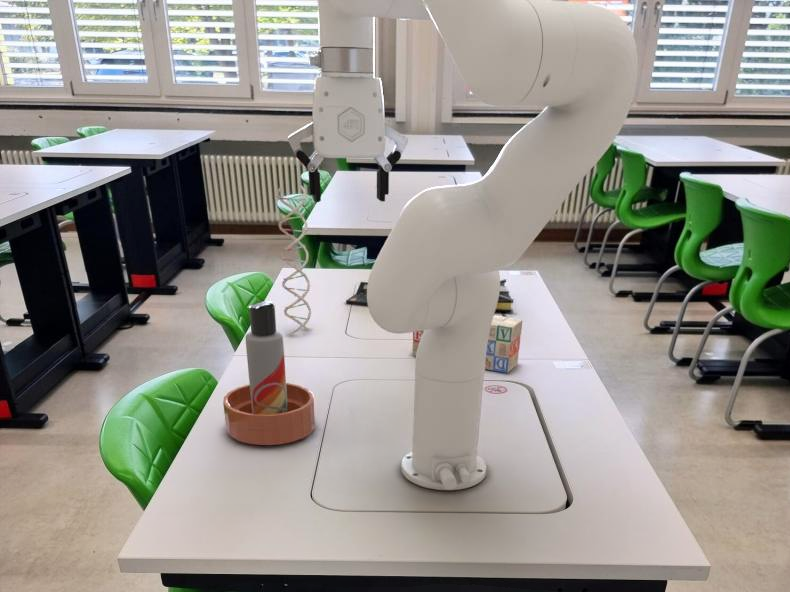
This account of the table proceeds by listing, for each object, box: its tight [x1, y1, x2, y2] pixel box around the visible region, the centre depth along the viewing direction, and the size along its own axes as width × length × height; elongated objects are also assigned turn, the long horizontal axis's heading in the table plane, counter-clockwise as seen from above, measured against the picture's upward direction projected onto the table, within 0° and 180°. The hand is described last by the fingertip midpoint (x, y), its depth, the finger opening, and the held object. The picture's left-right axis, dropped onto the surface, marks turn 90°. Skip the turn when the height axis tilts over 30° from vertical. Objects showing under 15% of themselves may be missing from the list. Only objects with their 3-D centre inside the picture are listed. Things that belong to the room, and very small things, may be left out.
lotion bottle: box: [245, 300, 288, 415], centre depth 114 cm, size 6×6×20 cm
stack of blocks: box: [412, 314, 523, 374], centre depth 147 cm, size 21×6×12 cm, turn 62°
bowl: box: [222, 382, 316, 446], centre depth 118 cm, size 14×14×6 cm
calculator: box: [345, 281, 368, 307], centre depth 188 cm, size 9×12×3 cm
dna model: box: [276, 184, 312, 336], centre depth 156 cm, size 7×6×30 cm
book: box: [495, 278, 514, 314], centre depth 188 cm, size 22×17×5 cm
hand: (349, 200), depth 109 cm, fingers open, 9 cm apart
